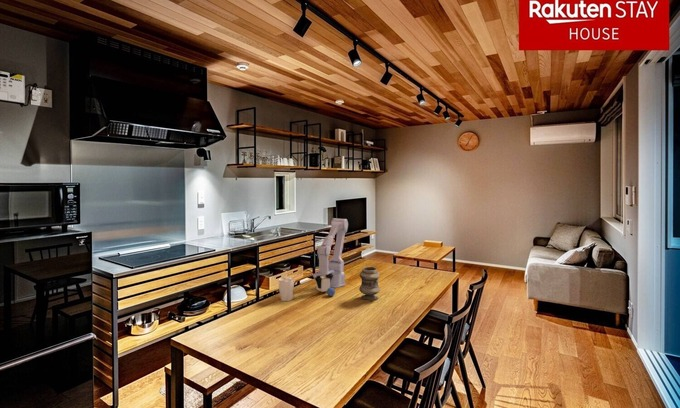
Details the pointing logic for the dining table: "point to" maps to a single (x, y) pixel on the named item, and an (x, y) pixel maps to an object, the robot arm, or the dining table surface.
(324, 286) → the beige block
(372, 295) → the apothecary jar
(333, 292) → the ball
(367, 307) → the dining table surface
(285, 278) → the cup
